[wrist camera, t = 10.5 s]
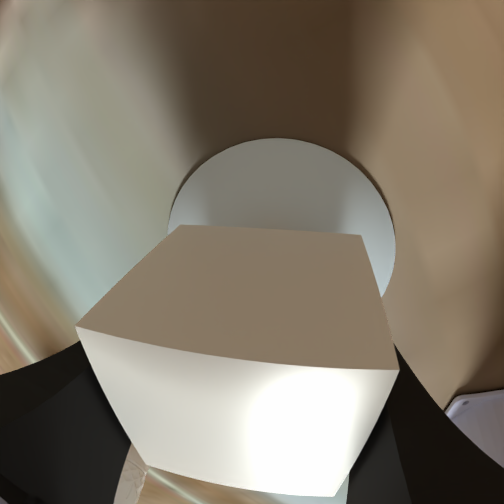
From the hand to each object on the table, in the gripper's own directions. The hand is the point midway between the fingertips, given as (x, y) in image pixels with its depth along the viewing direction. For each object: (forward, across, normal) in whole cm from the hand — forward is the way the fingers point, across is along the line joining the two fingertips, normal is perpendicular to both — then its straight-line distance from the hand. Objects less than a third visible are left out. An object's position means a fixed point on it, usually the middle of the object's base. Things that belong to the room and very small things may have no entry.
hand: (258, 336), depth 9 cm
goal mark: (+5, 0, 0) cm, 5 cm away
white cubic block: (+2, 0, 0) cm, 2 cm away
